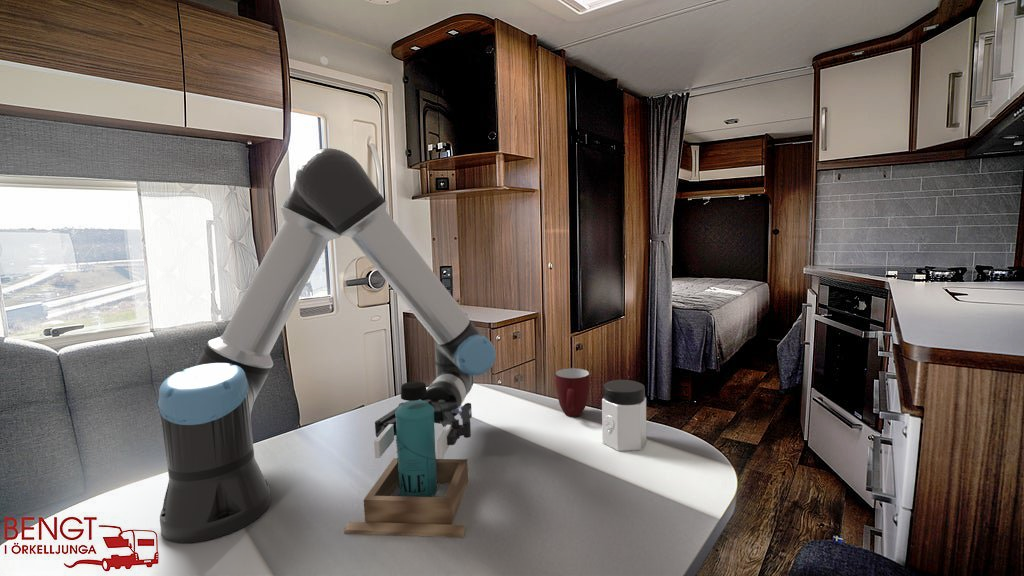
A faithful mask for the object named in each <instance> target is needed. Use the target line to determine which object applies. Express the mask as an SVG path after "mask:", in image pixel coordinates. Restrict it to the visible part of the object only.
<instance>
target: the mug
mask: <svg viewBox="0 0 1024 576" xmlns="http://www.w3.org/2000/svg"><path fill="white" fill-rule="evenodd" d="M554 377H555V378H554V382H555V390H556V395H557V399H558V404H559V406H560V408H561V410H562V412H563V414H564V415H565V416H567V417H571V418H576V417H579V416H581V415H582V414H583V413H584V410H585V408H586V406H587V404H588V398H589V392H590V385H591V382H590V381H591V379H590V372H589V370H586V369H583V368H575V367H574V368H573V367H569V368H562V369H561V368H560V369H558V370H556V371H555V373H554Z"/></svg>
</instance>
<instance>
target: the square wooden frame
mask: <svg viewBox="0 0 1024 576" xmlns="http://www.w3.org/2000/svg"><path fill="white" fill-rule="evenodd" d="M397 458H398V457H396V458H393V459H392V460H391V461H390V463H389V464H388V465H387V467H386V468H385V469H384V471H383V472H382V473H381V475H380V476H379V477H378V479H377V480H376V482H375V483H374V485H372V487H371V489H370V490H369V491H368V493H367V494H366V496H365V497H364V499H363V512H364V521H349V522H348V523H347V525H346V526H345V528H344V529H343V533H344V534H346V535H347V534H350V535H354V534H355V535H379V536H380V535H381V536H382V535H383V536H384V535H385V536H410V537H412V536H414V537H444V538H464V536H465V533H466V530H467V525H466V524H453V523H454V521H455V518H456V516H457V512H458V510H459V507H460V505H461V502H462V499H463V496H464V494H465V491H466V488H467V486H468V482H469V471H468V470H469V467H468V459H460V458H458V459H457V458H453V459H452V458H443V459H438V458H436V470H437V477H438V478H437V482H438V483H437V485H448V486H447V487H448V488H447V490H446V492H445V495H444V497H443V496H442V497H439V496H432V497H407V496H401V495H400V496H399V495H398V496H397V495H394V496H393V494H394V492H395V491H394V490H396V489H397V488H398V486H399V482H398V477H399V475H398V474H397V470H398V459H397Z"/></svg>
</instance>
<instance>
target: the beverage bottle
mask: <svg viewBox="0 0 1024 576" xmlns="http://www.w3.org/2000/svg"><path fill="white" fill-rule="evenodd" d="M426 390H427V384H426V383H425V382H423V381H420V380H419V381H408V382H405V383H402V384H401V388H400V399H401V400H403V401H405V402H402V403H403V404H402V405H400V406H399V405H398V406H399V408H398V409H397V410H396V412H395V416H396V424H395V425H396V431H395V432H396V434H397V435H395V445H396V446H395V447H396V453H397V457H396V458H397V459H398V470H397V474H398V475H399V477H398V482H399V484H398V486H397V488H398V492H399V495H400V496H407V497H435V495H436V493H437V491H438V484H437V483H438V482H437V478H438V477H437V470H436V459H438V457H437V450H436V435H435V434H436V433H435V423H434V408H433V407H432V406H431V405H430V404H429V403H428V402H426V401H423V400H420V399H423V398H425V397H427V391H426Z"/></svg>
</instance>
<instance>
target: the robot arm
mask: <svg viewBox="0 0 1024 576" xmlns="http://www.w3.org/2000/svg"><path fill="white" fill-rule="evenodd" d="M387 204H388V202H387V200H385V198H384V197H383V195H382V194H381V193H380V192H379V190H378V189H377V187H376V186H375V184H374V183H373V181H372V180H371V178H370V177H369V175H368V174H367V172H366V171H365V170H364V168H363V166H362V165H361V164H360V162H358V161H357V159H356V158H355V157H354V156H352V155H350V154H349V153H348V152H346V151H343V150H340V149H336V148H331V147H329V148H320V149H316V150H314V151H312V152H310V153H309V154H307V155H306V156H305V157H304V158H303V159H302V161H300V163H299V164H298V167H297V169H296V173H295V180H294V182H293V183H292V186H291V187H290V190H289V191H288V193H287V195H286V197H285V199H284V201H283V203H282V205H281V206H280V211H281V213H282V216H283V222H282V223H281V225H280V226H279V229H278V231H277V233H276V235H275V237H274V238H273V240H272V242H271V244H270V246H269V248H268V249H267V252H266V253H265V255H264V257H263V259H262V261H261V263H260V264H259V266H258V268H257V270H256V272H255V274H254V276H253V278H252V279H251V282H250V283H249V285H248V287H247V289H246V290H245V292H244V294H243V296H242V297H241V300H240V301H239V304H238V305H237V307H236V309H235V311H234V313H233V314H232V316H231V319H230V320H229V321H228V324H227V326H226V328H225V330H224V332H223V333H222V335H220V336H218V337H215V338H212V339H209V340H208V342H207V343H206V345H205V347H204V349H203V351H202V352H201V354H200V356H199V358H198V360H197V362H196V363H195V366H191V367H188V368H184V369H183V370H182V371H178V372H177V371H176V372H174V373H173V374H171V375H169V376H168V377H166V379H164V380H163V382H162V383H161V385H160V386H159V390H158V401H157V406H158V411H159V413H160V421H161V427H162V435H163V441H164V450H165V457H166V465H167V471H168V483H167V487H166V491H165V493H164V494H165V495H164V499H163V504H162V508H161V511H160V515H159V523H160V525H159V526H160V532H161V535H162V537H163V538H164V539H166V540H168V541H170V542H175V543H188V544H189V543H197V542H203V541H204V542H205V541H209V540H212V539H216V538H220V537H222V536H226V535H228V534H231V533H234V532H235V531H238V530H240V529H242V528H244V527H246V526H248V525H250V524H251V523H253V522H254V521H256V520H257V519H258V518H259V517H261V516H262V515H263V514H264V513H265V512H266V511H267V510H268V508H269V506H270V505H271V500H272V499H271V498H272V497H271V490H270V489H271V488H270V485H269V483H268V481H267V480H266V479H265V477H264V475H263V473H262V470H261V468H260V466H259V464H258V462H257V460H256V457H255V450H254V440H253V438H254V437H253V431H252V421H251V420H252V419H251V418H252V415H251V414H252V411H253V407H254V403H255V401H256V399H257V397H258V395H259V393H260V391H261V389H262V387H263V385H264V383H265V381H266V379H267V378H268V376H269V374H270V372H271V369H272V368H273V366H274V362H273V359H272V356H271V352H272V350H273V348H274V346H275V344H276V342H277V340H278V338H279V336H280V335H281V333H282V331H283V329H284V327H285V325H286V323H287V321H288V319H289V318H290V316H291V314H292V312H293V310H294V308H295V306H296V304H297V302H298V301H299V298H300V296H301V295H302V294H303V291H304V289H305V287H306V285H307V283H308V281H309V279H310V278H311V276H312V273H313V271H314V270H315V268H316V266H317V265H318V262H319V260H320V259H321V257H322V255H323V253H324V251H325V249H326V247H327V246H328V243H329V242H331V241H333V240H336V239H339V238H341V237H342V236H343V237H347V238H350V239H351V240H352V241H353V242H354V243H355V245H356V246H357V248H358V249H359V250H360V252H362V253H363V254H364V256H365V257H366V258H367V259H368V261H370V263H371V265H373V267H375V270H377V271H378V272H379V274H380V275H381V276H382V278H384V280H385V281H386V282H387V284H388V285H389V286H390V287H391V289H393V291H394V292H395V293H396V295H398V297H399V298H400V300H402V302H403V303H404V304H405V305H406V307H407V308H408V309H409V310H410V311H411V312H412V314H413V315H414V317H415V318H416V319H417V320H418V321H419V322H420V323H421V325H422V326H423V327H424V329H426V331H427V332H428V333H429V335H430V336H431V337H432V338H433V340H434V356H435V376H436V377H435V378H434V379H433V381H432V383H430V385H429V386H427V387H426V391H427V397H425V398H423V399H420V400H423V401H426V402H428V403H429V404H430V405H431V406H432V407H433V408H434V424H441V426H442V428H443V427H444V429H443V430H442V432H441V434H440V436H439V437H438V439H437V441H436V456H437V459H444V457H445V455H446V452H447V451H448V449H449V447H450V446H454V445H456V443H457V441H458V439H460V438H461V437H462V436H463V437H464V438H466V439H469V438H471V436H472V434H471V433H472V429H471V427H472V426H471V418H472V417H473V416H472V415H473V414H472V412H473V411H472V403H470V402H466V403H464V401H465V399H466V396H467V395H468V394H469V393H470V391H471V390H472V389H473V388H472V387H473V386H474V381H475V377H478V376H482V375H484V374H485V373H487V372H489V371H490V370H491V368H492V367H493V366H494V364H495V361H496V357H497V355H496V353H497V352H496V348H495V346H494V344H493V342H491V341H490V340H489V338H488V337H486V336H485V335H483V334H482V332H480V330H479V329H478V328H477V327H476V325H475V324H474V323H473V321H471V319H470V317H468V314H467V313H466V312H464V310H463V308H462V307H461V306H460V305H459V304H458V302H457V301H456V300H455V298H454V297H453V296H452V294H451V293H450V292H449V291H448V289H447V287H445V286H444V284H443V283H442V281H441V280H440V279H439V278H438V276H437V275H436V274H435V272H434V271H433V269H431V268H430V266H429V264H427V262H426V261H425V260H424V258H423V257H422V256H421V254H420V253H419V251H418V250H417V249H416V248H415V247H414V245H413V244H412V243H411V241H410V240H409V239H408V238H407V236H406V235H405V234H404V233H403V231H402V230H401V229H400V227H399V225H398V224H396V222H395V220H393V218H392V217H391V216H390V214H389V213H388V211H387ZM403 403H404V402H400V403H399V404H398V405H397V407H396V408H394V409H392V410H391V411H389V412H388V413H386V414H385V415H384V416H383V415H382V417H380V418H378V419H377V420H375V421H374V431H375V437H376V438H375V439H374V441H373V445H374V458H375V459H380V458H382V456H383V455H384V454H385V452H386V451H387V450H388V448H389V447H390V446H391V445H392V443H393V442H394V441H395V437H396V435H397V434H396V432H395V431H396V425H395V424H396V416H395V412H396V410H397V409H398V408H399V406H400V405H402V404H403ZM463 403H464V404H463ZM462 404H463V405H462ZM458 415H459V416H460V418H461V420H462V421H461V422H462V424H460V420H459V419H458V418H457V419H456V416H458Z"/></svg>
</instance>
